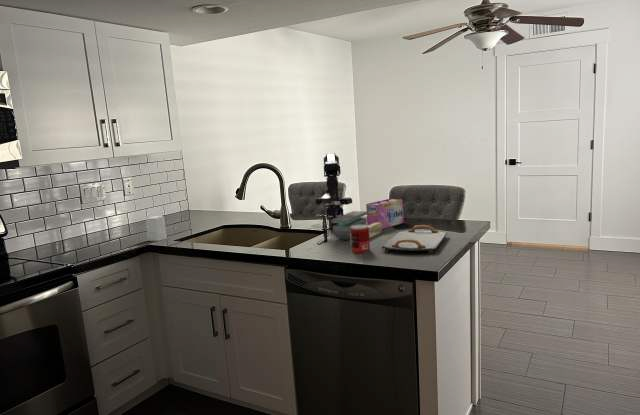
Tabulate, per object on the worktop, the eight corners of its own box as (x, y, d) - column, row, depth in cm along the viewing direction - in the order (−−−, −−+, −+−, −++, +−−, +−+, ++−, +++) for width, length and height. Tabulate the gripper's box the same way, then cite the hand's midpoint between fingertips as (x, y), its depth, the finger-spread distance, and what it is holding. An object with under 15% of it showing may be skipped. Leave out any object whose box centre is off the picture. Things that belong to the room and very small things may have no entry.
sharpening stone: (353, 231, 251) (352, 211, 249) (367, 232, 247) (366, 211, 246) (332, 242, 229) (331, 219, 228) (347, 242, 226) (346, 220, 224)
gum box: (394, 221, 273) (393, 197, 271) (405, 222, 267) (404, 198, 266) (366, 228, 257) (365, 203, 255) (378, 230, 251) (377, 204, 249)
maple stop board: (350, 244, 222) (349, 233, 221) (376, 231, 247) (375, 222, 246) (356, 244, 220) (355, 234, 219) (381, 231, 246) (381, 222, 245)
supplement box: (167, 238, 268) (164, 215, 266) (157, 241, 261) (155, 218, 260) (157, 237, 271) (154, 215, 269) (147, 240, 264) (144, 218, 263)
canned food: (371, 249, 209) (370, 224, 208) (367, 253, 202) (366, 228, 200) (354, 249, 212) (353, 224, 210) (349, 253, 204) (348, 228, 203)
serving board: (434, 257, 191) (434, 241, 190) (378, 255, 200) (377, 240, 199) (449, 236, 226) (448, 223, 225) (400, 235, 235) (400, 223, 234)
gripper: (308, 189, 239) (310, 220, 242) (341, 189, 230) (343, 221, 232) (319, 186, 249) (321, 216, 251) (352, 186, 239) (353, 217, 242)
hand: (334, 217), depth 244 cm, fingers closed
